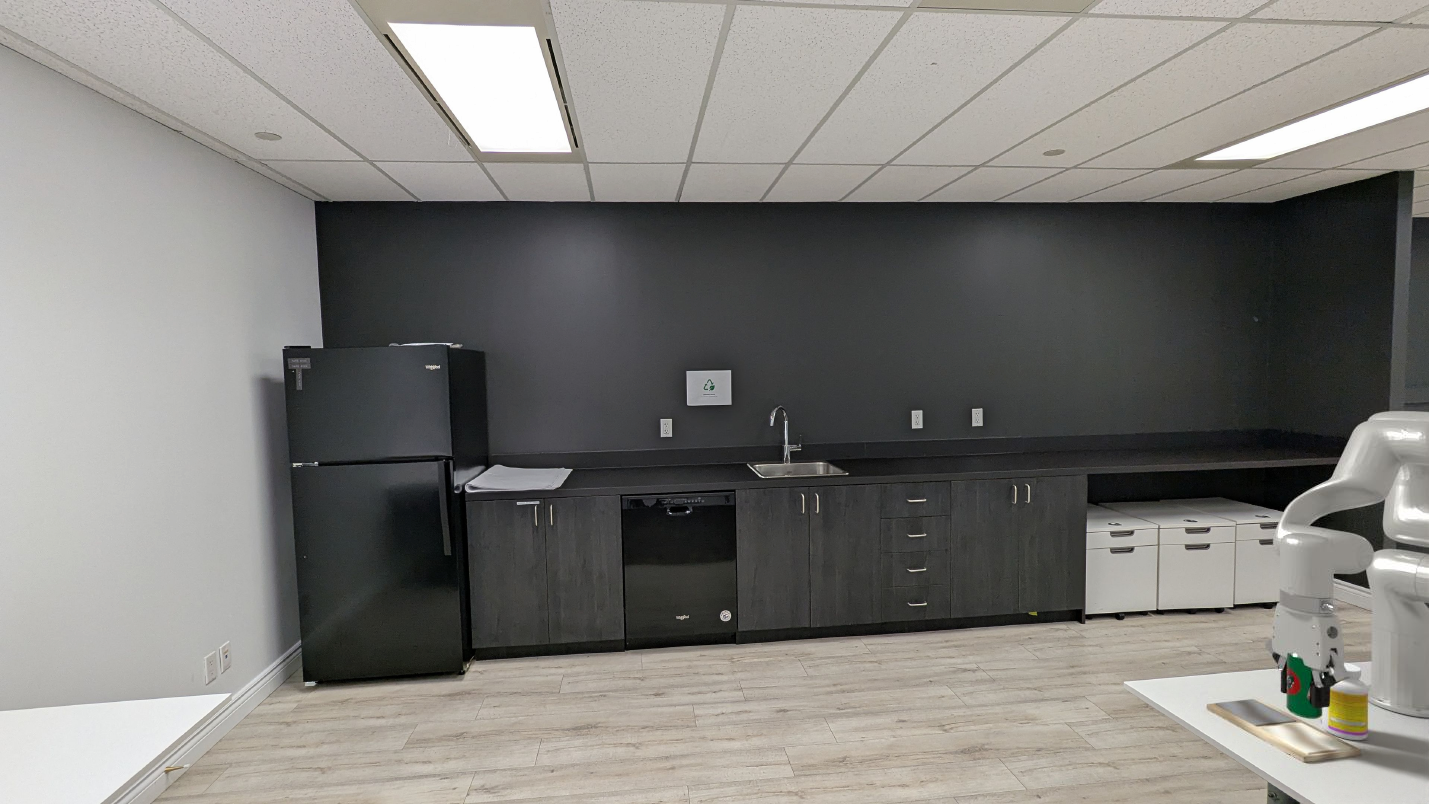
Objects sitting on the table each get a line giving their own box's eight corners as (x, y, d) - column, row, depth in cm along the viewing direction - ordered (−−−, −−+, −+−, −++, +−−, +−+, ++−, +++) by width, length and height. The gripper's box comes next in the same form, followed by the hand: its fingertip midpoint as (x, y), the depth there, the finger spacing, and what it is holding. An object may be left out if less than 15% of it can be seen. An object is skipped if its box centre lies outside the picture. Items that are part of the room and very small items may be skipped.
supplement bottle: (1376, 743, 128) (1377, 674, 127) (1335, 740, 129) (1336, 672, 129) (1351, 725, 135) (1352, 660, 134) (1312, 722, 136) (1312, 657, 135)
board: (1257, 703, 144) (1257, 697, 144) (1360, 755, 124) (1361, 747, 124) (1206, 708, 142) (1206, 702, 142) (1303, 762, 122) (1303, 755, 122)
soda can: (1314, 722, 125) (1315, 656, 124) (1281, 711, 129) (1281, 647, 129) (1327, 715, 127) (1328, 651, 127) (1293, 704, 131) (1294, 642, 131)
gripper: (1373, 616, 119) (1372, 720, 120) (1279, 587, 136) (1277, 678, 137) (1336, 619, 118) (1335, 724, 119) (1245, 589, 135) (1244, 681, 136)
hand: (1304, 698), depth 128 cm, fingers closed on soda can, 5 cm apart
